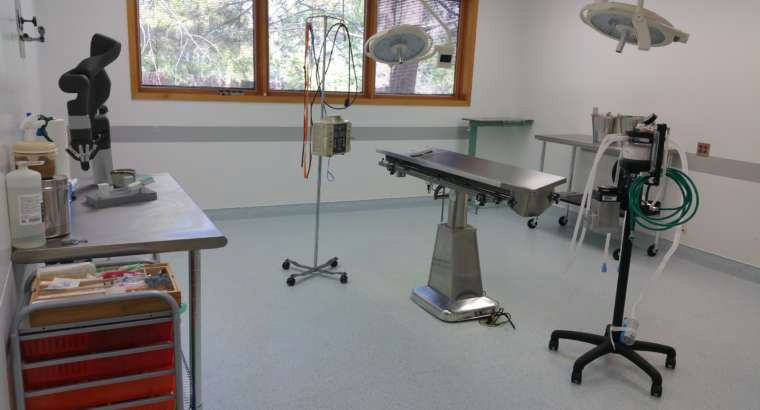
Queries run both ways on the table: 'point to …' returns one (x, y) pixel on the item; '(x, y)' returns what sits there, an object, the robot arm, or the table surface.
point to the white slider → (103, 190)
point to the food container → (121, 177)
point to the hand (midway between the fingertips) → (85, 170)
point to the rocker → (141, 183)
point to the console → (121, 197)
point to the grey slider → (128, 181)
